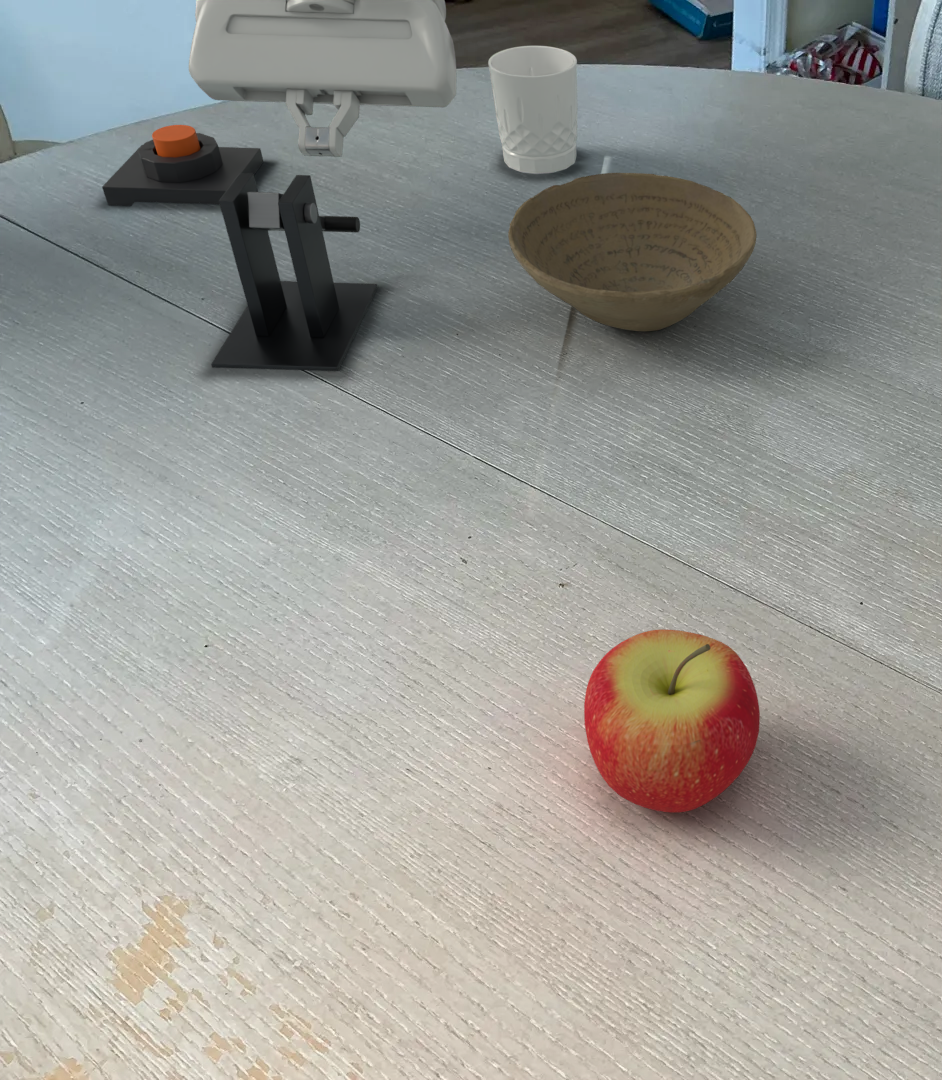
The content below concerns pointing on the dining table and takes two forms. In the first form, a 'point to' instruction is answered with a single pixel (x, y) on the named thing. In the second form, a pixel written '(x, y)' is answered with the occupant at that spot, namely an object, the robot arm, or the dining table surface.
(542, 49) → the white cup
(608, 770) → the apple
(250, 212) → the lever
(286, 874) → the dining table surface
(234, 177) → the button box
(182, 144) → the button
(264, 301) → the bracket
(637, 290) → the bowl
